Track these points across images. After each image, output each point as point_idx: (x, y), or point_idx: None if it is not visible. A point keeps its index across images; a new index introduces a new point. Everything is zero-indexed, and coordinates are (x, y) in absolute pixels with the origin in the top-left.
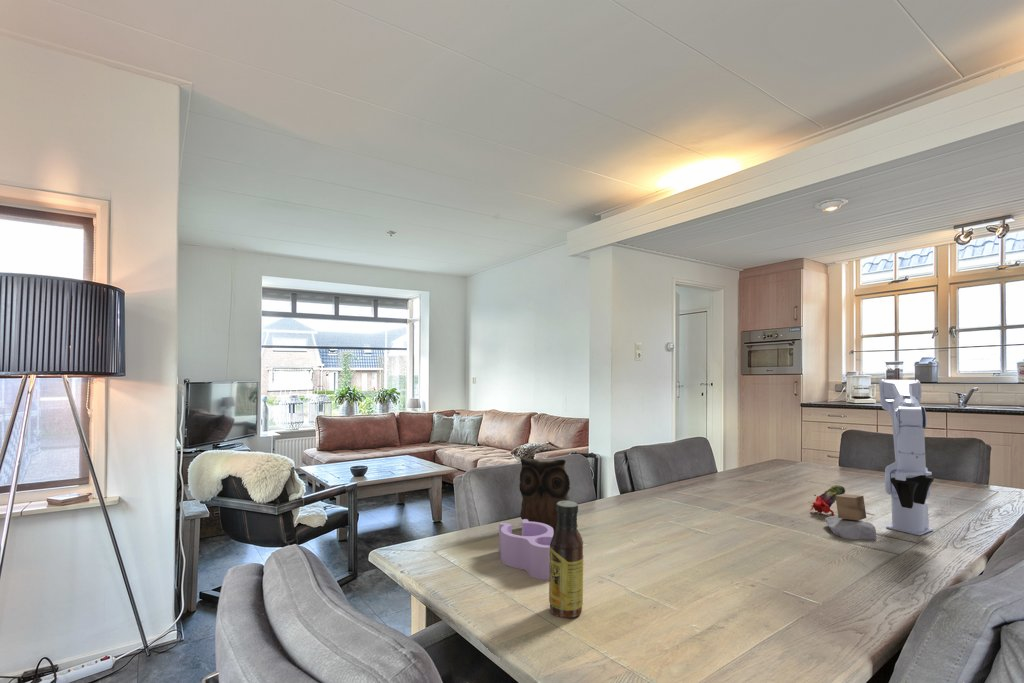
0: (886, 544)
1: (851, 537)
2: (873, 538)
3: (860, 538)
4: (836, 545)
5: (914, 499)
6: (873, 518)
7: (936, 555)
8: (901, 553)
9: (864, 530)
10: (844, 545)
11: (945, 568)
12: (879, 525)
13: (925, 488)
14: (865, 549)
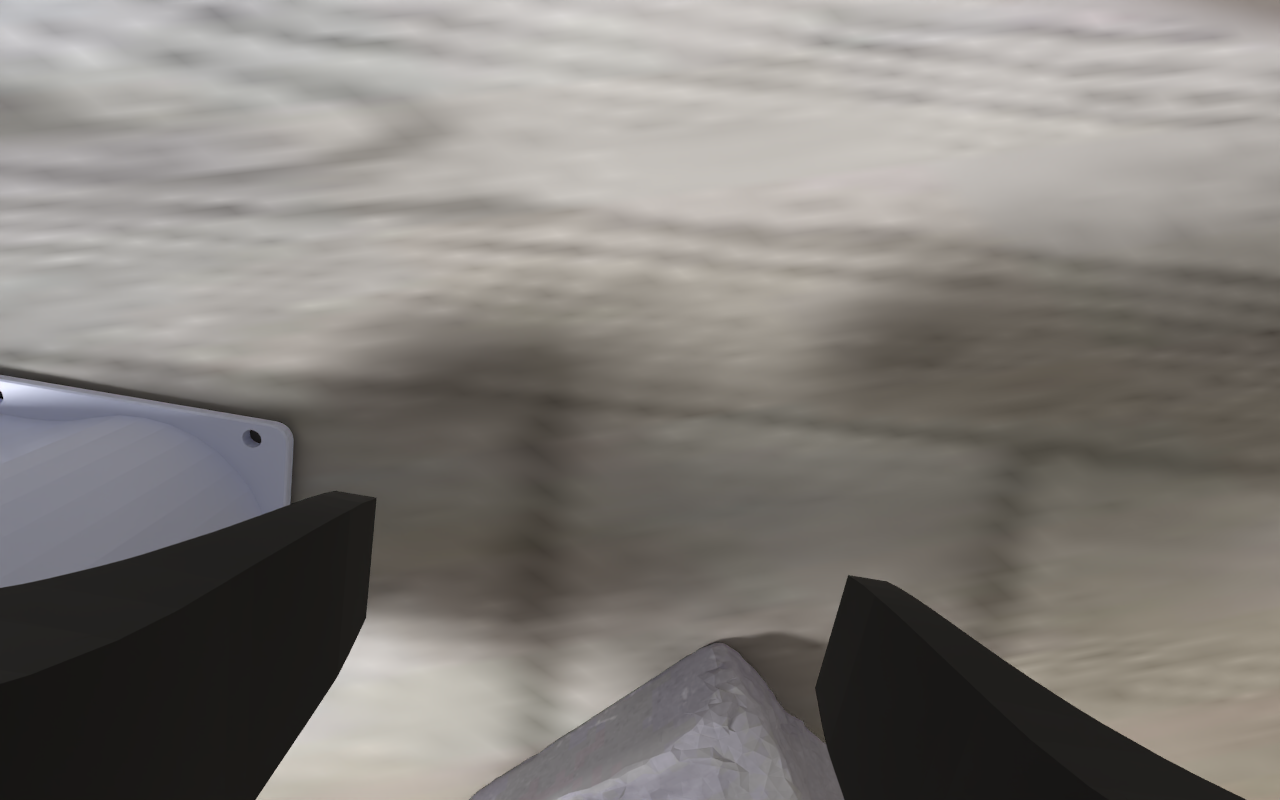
0: (800, 562)
1: None
2: (742, 658)
3: (794, 720)
4: None
5: (343, 648)
6: None
7: (832, 225)
8: (983, 438)
9: (788, 749)
10: None
11: (1189, 115)
12: None
13: (171, 641)
14: (1064, 637)
